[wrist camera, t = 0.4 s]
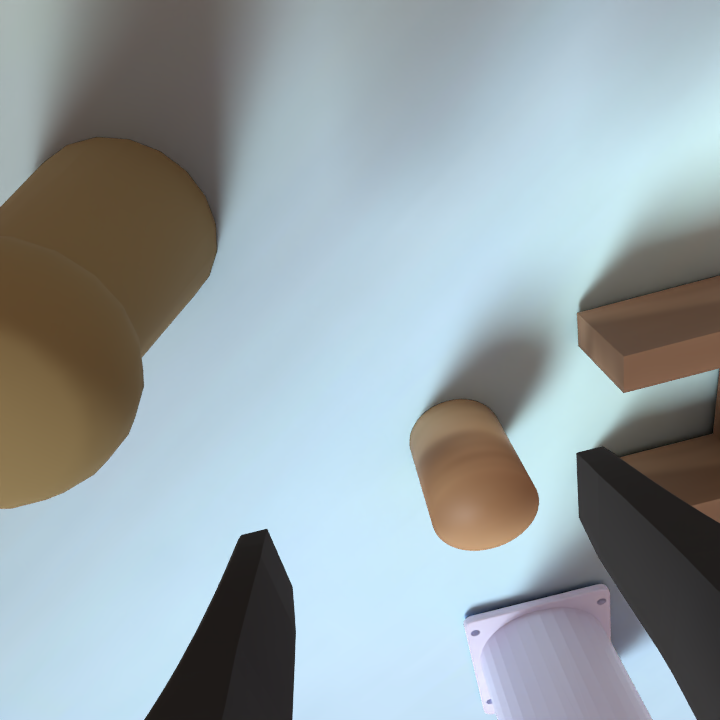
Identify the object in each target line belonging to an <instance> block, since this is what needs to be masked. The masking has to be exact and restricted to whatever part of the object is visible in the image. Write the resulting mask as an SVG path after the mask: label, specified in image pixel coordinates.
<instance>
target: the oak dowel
mask: <svg viewBox="0 0 720 720" xmlns="http://www.w3.org/2000/svg"><path fill="white" fill-rule="evenodd" d="M410 450H411V453H412V457H413V460H414V463H415V467H416V470H417V474H418V477H419V480H420V484H421V487H422V491H423V494H424V497H425V501H426V504H427V508H428V511H429V515H430V518H431V521H432V525H433V528H434V530H435V532H436V534H437V535H438V537H439V538H440V539H441V540H442V541H444V542H445V543H447V544H448V545H450V546H452V547H455V548H458V549H462V550H470V551H479V550H487V549H491V548H495V547H498V546H501V545H503V544H506V543H508V542H510V541H511V540H513V539H515V538H516V537H518V536H519V535H520V534H522V533H523V532H524V531H525V530H526V529H527V528H528V527H529V525H530V524H531V523H532V521H533V520H534V518H535V516H536V514H537V511H538V506H539V497H538V493H537V490H536V488H535V486H534V484H533V482H532V481H531V479H530V477H529V475H528V473H527V472H526V470H525V468H524V466H523V464H522V463H521V461H520V459H519V457H518V455H517V453H516V452H515V450H514V448H513V446H512V444H511V443H510V441H509V439H508V437H507V435H506V434H505V432H504V430H503V428H502V426H501V424H500V423H499V421H498V419H497V417H496V416H495V414H494V413H493V411H492V410H491V409H490V408H488V407H487V406H486V405H484V404H482V403H480V402H477V401H474V400H468V399H455V400H450V401H446V402H443V403H440V404H438V405H436V406H434V407H432V408H430V409H429V410H428V411H426V412H425V413H424V414H423V415H422V416H421V417H420V418H419V419H418V420H417V422H416V423H415V425H414V427H413V429H412V431H411V434H410Z"/></svg>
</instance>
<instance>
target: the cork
mask: <svg viewBox="0 0 720 720" xmlns="http://www.w3.org/2000/svg"><path fill="white" fill-rule="evenodd" d="M216 253H217V242H216V224H215V221H214V218H213V216H212V213H211V210H210V207H209V205H208V202H207V199H206V197H205V195H204V194H203V193H202V191H201V190H200V189H199V187H198V186H197V185H196V183H195V182H194V181H193V179H192V178H191V177H190V175H189V174H188V173H187V171H185V170H184V169H183V168H181V167H180V166H179V165H177V164H176V163H175V162H173V161H172V160H171V159H169V158H168V157H167V156H166V155H164V154H163V153H162V152H160V151H158V150H155V149H153V148H150V147H147V146H145V145H142V144H140V143H137V142H135V141H132V140H129V139H117V138H103V137H95V138H91V139H88V140H84V141H80V142H77V143H73V144H69V145H67V146H65V147H64V148H63V149H61V150H60V151H59V152H57V153H56V154H54V155H53V156H52V157H50V158H49V159H48V160H46V161H45V162H44V163H43V164H42V165H41V166H40V167H39V168H38V169H37V170H36V171H35V172H34V173H33V174H32V175H31V176H30V177H29V178H28V179H27V180H26V181H25V182H24V183H23V184H22V185H21V186H20V187H19V188H18V189H17V191H16V192H15V193H14V194H13V195H12V196H11V197H10V198H9V199H8V200H7V201H6V202H5V203H4V204H3V205H2V206H1V207H0V509H11V508H15V507H19V506H23V505H27V504H31V503H35V502H39V501H43V500H46V499H49V498H51V497H54V496H56V495H59V494H61V493H64V492H66V491H67V490H69V489H71V488H72V487H74V486H76V485H77V484H79V483H81V482H82V481H84V480H86V479H87V478H89V477H91V476H92V475H94V474H95V473H96V472H97V471H98V470H99V469H100V468H101V467H102V466H103V465H104V464H105V463H106V462H107V461H108V459H109V458H110V457H111V456H112V454H113V453H114V452H115V451H116V449H117V448H118V447H119V446H120V444H121V443H122V442H123V441H124V439H125V438H126V437H127V436H128V434H129V432H130V429H131V427H132V424H133V422H134V419H135V416H136V413H137V409H138V405H139V402H140V398H141V395H142V391H143V388H144V379H143V366H142V357H143V356H144V354H145V353H146V352H147V351H148V350H149V348H150V347H151V346H152V345H153V344H154V343H155V341H156V340H157V339H158V338H159V337H160V336H161V334H162V333H163V332H164V331H165V330H166V328H167V327H168V326H169V325H170V324H171V323H172V321H173V320H174V319H175V318H176V317H177V315H178V314H179V313H180V312H181V311H182V310H183V308H184V307H185V306H186V305H187V304H188V302H189V301H190V300H191V299H192V298H193V297H194V295H195V294H196V293H197V291H198V290H199V289H200V288H201V286H202V285H203V284H204V282H205V281H206V280H207V278H208V277H209V276H210V272H211V269H212V266H213V263H214V259H215V256H216Z"/></svg>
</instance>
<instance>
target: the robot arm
mask: <svg viewBox="0 0 720 720" xmlns="http://www.w3.org/2000/svg"><path fill="white" fill-rule="evenodd" d="M576 455H577V480H578V505H579V518H580V520H581V523H582V525H583V527H584V529H585V531H586V533H587V535H588V537H589V539H590V541H591V543H592V545H593V547H594V549H595V551H596V553H597V555H598V557H599V559H600V560H601V562H602V564H603V565H604V567H605V568H606V570H607V571H608V573H609V575H610V576H611V578H612V579H613V581H614V582H615V584H616V585H617V587H618V589H619V590H620V592H621V593H622V595H623V596H624V598H625V599H626V601H627V602H628V604H629V605H630V607H631V609H632V610H633V612H634V613H635V615H636V616H637V618H638V619H639V621H640V622H641V624H642V625H643V627H644V628H645V630H646V632H647V633H648V635H649V636H650V638H651V639H652V641H653V642H654V644H655V645H656V647H657V648H658V650H659V652H660V653H661V655H662V657H663V658H664V660H665V662H666V663H667V665H668V667H669V668H670V670H671V672H672V674H673V675H674V677H675V679H676V681H677V683H678V685H679V687H680V689H681V690H682V692H683V694H684V696H685V698H686V700H687V702H688V704H689V706H690V707H691V709H692V711H693V713H694V715H695V717H696V719H697V720H720V523H719V522H717V521H715V520H714V519H712V518H710V517H709V516H707V515H705V514H704V513H702V512H700V511H699V510H697V509H696V508H694V507H693V506H691V505H689V504H688V503H686V502H685V501H683V500H682V499H680V498H678V497H677V496H675V495H674V494H672V493H671V492H669V491H668V490H666V489H665V488H663V487H662V486H660V485H659V484H657V483H656V482H654V481H653V480H651V479H650V478H648V477H647V476H645V475H644V474H642V473H641V472H639V471H638V470H637V469H635V468H634V467H632V466H631V465H629V464H628V463H627V462H625V461H624V460H622V459H621V458H619V457H618V456H617V455H615V454H614V453H612V452H611V451H609V450H608V449H606V448H605V447H599V448H595V449H591V450H586V451H582V452H578V453H576ZM464 628H465V633H466V637H467V641H468V645H469V650H470V654H471V658H472V662H473V667H474V671H475V675H476V679H477V684H478V688H479V692H480V696H481V701H482V705H483V709H484V712H485V713H487V714H495V713H496V716H497V720H653V719H652V718H651V716H650V714H649V712H648V710H647V708H646V706H645V705H644V703H643V701H642V699H641V697H640V695H639V693H638V691H637V690H636V688H635V686H634V684H633V682H632V680H631V678H630V677H629V675H628V673H627V671H626V669H625V667H624V665H623V664H622V662H621V660H620V658H619V656H618V654H617V652H616V650H615V649H614V647H613V645H612V643H611V620H610V591H609V589H608V588H607V586H606V585H604V584H597V585H593V586H589V587H585V588H581V589H577V590H573V591H569V592H565V593H561V594H557V595H553V596H549V597H545V598H541V599H537V600H533V601H529V602H525V603H521V604H517V605H513V606H509V607H505V608H501V609H497V610H493V611H489V612H485V613H481V614H477V615H473V616H469V617H467V618H466V619H465V620H464ZM295 639H296V628H295V612H294V600H293V587H292V585H291V582H290V580H289V578H288V576H287V573H286V571H285V569H284V566H283V564H282V562H281V560H280V557H279V555H278V553H277V550H276V548H275V546H274V544H273V541H272V539H271V537H270V534H269V532H268V530H267V529H264V530H260V531H256V532H252V533H248V534H244V535H241V536H240V538H239V539H238V541H237V544H236V546H235V549H234V551H233V553H232V556H231V558H230V560H229V563H228V565H227V567H226V570H225V572H224V574H223V576H222V579H221V581H220V583H219V585H218V588H217V590H216V592H215V594H214V596H213V598H212V600H211V602H210V604H209V606H208V609H207V611H206V613H205V615H204V617H203V619H202V621H201V623H200V625H199V627H198V629H197V631H196V633H195V635H194V636H193V638H192V640H191V642H190V644H189V646H188V647H187V649H186V651H185V653H184V655H183V657H182V659H181V660H180V662H179V664H178V666H177V668H176V669H175V671H174V673H173V675H172V676H171V678H170V680H169V681H168V683H167V685H166V686H165V688H164V690H163V691H162V693H161V694H160V696H159V698H158V699H157V701H156V702H155V704H154V706H153V707H152V709H151V710H150V712H149V713H148V715H147V716H146V718H145V719H144V720H292V713H293V690H294V666H295Z"/></svg>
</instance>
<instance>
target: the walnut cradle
mask: <svg viewBox="0 0 720 720" xmlns="http://www.w3.org/2000/svg"><path fill="white" fill-rule="evenodd" d="M577 324H578V346H579V347H580V348H581V349H582V350H583V351H584V352H585V353H586V354H587V355H588V356H589V357H590V358H591V359H592V361H593V362H594V363H595V364H596V365H597V366H598V367H599V368H600V369H601V370H602V371H603V372H604V373H605V374H606V375H607V376H608V377H609V378H610V379H611V380H612V381H613V382H614V383H615V384H616V386H617V387H618V388H619V389H620V390H621V391H622V392H623V393H626V392H630V391H633V390H637V389H641V388H645V387H649V386H653V385H657V384H661V383H664V382H668V381H672V380H676V379H680V378H684V377H688V376H691V375H695V374H699V373H703V372H707V371H711V370H715V369H719V368H720V275H719V276H716V277H712V278H708V279H704V280H700V281H697V282H693V283H689V284H685V285H681V286H678V287H674V288H670V289H666V290H662V291H659V292H655V293H651V294H647V295H643V296H640V297H636V298H632V299H628V300H624V301H621V302H617V303H613V304H609V305H605V306H602V307H598V308H594V309H590V310H586V311H582V312H579V313H577ZM619 458H621V459H622V460H624V461H625V462H627V463H628V464H629V465H631V466H632V467H634V468H635V469H637V470H638V471H639V472H641V473H642V474H644V475H645V476H647V477H648V478H650V479H651V480H653V481H654V482H656V483H657V484H659V485H660V486H662V487H663V488H665V489H666V490H668V491H669V492H671V493H672V494H674V495H675V496H677V497H678V498H680V499H682V500H683V501H685V502H686V503H688V504H689V505H691V506H693V507H694V508H696V509H697V510H699V511H700V512H702V513H704V514H705V515H707V516H709V517H710V518H712V519H714V520H715V521H717V522H719V523H720V370H719V380H718V389H717V399H716V408H715V418H714V427H713V434H709V435H705V436H701V437H697V438H693V439H689V440H685V441H682V442H678V443H674V444H670V445H666V446H662V447H658V448H654V449H650V450H646V451H642V452H638V453H635V454H631V455H627V456H623V457H619Z"/></svg>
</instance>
